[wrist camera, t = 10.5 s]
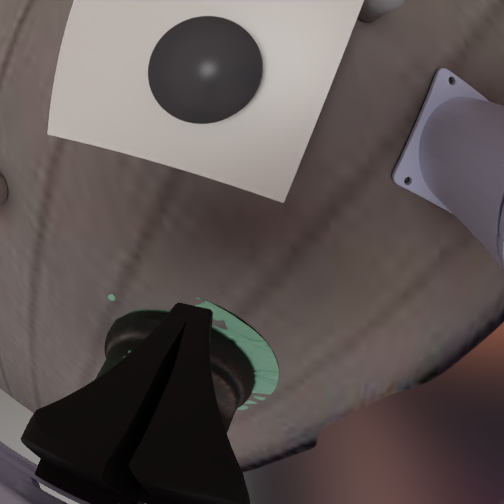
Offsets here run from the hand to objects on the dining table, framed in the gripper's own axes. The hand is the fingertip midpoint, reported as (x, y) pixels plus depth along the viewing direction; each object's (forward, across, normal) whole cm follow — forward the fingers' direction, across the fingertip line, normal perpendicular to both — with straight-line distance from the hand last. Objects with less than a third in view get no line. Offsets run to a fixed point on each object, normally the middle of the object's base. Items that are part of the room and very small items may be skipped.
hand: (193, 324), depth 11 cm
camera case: (+9, +3, -10) cm, 14 cm away
